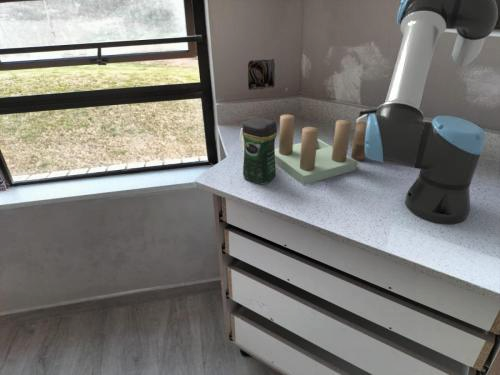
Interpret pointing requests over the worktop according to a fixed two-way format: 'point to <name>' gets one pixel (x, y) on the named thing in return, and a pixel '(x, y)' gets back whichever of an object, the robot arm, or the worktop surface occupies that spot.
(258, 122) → the coffee jar
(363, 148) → the walnut leg
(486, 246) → the worktop surface
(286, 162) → the upturned stool
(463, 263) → the worktop surface
